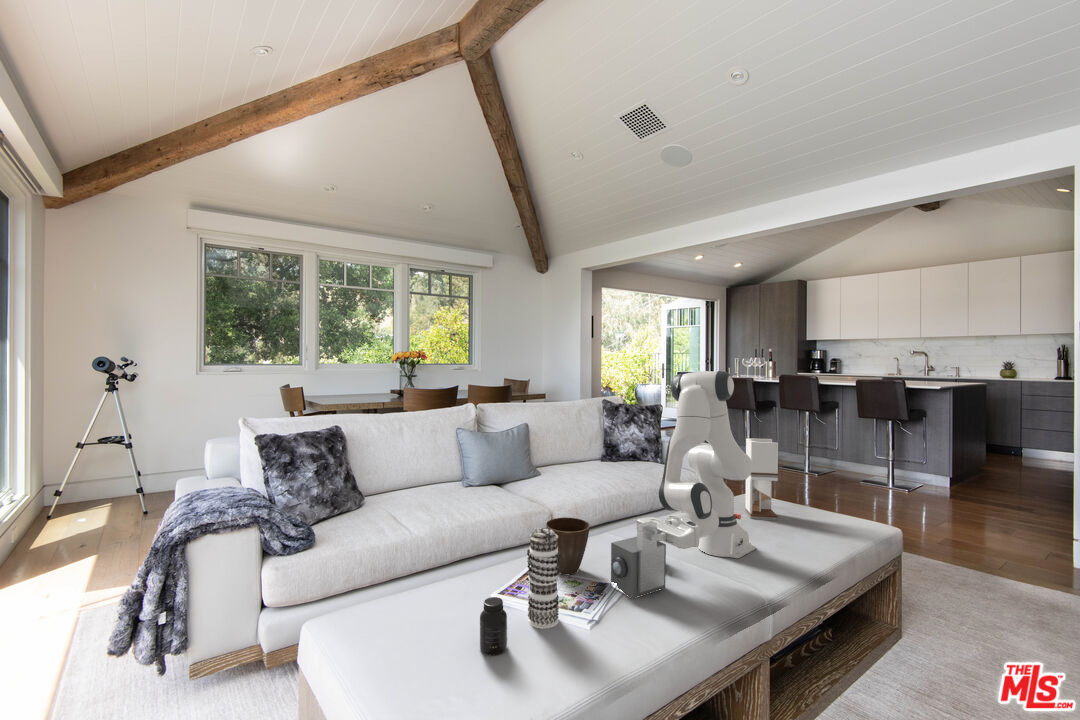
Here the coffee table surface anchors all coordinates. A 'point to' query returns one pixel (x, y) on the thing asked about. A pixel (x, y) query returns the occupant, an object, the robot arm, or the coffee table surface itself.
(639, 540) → the side door
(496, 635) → the supplement bottle
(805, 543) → the coffee table surface
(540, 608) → the black white cylinder
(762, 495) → the white cabinet
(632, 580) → the block
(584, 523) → the plant pot
